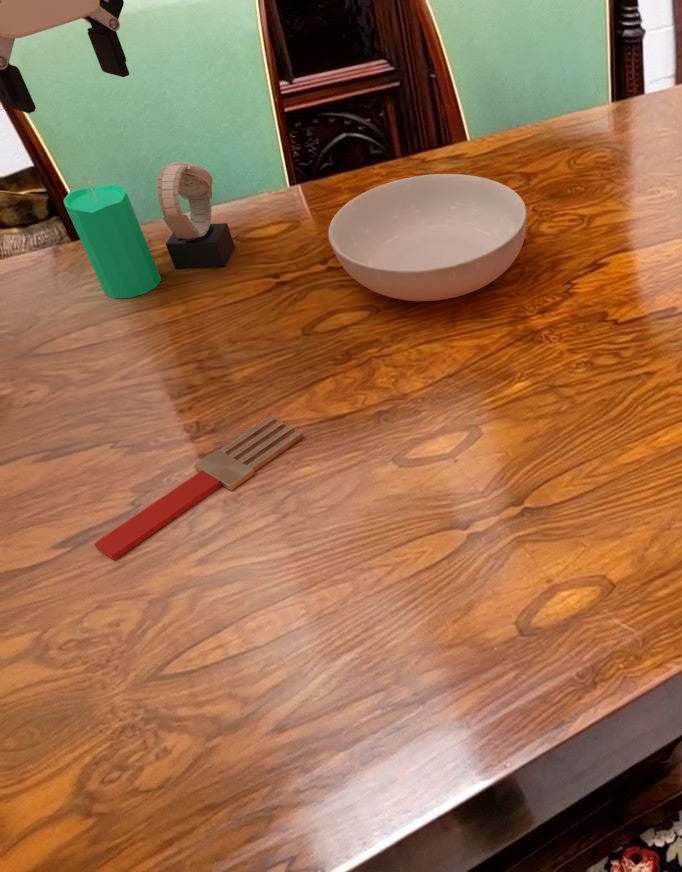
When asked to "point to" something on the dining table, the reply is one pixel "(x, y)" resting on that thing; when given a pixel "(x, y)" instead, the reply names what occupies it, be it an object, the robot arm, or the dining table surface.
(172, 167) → the watch
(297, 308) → the dining table surface
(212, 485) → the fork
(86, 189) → the candle
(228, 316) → the dining table surface
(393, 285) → the serving bowl
